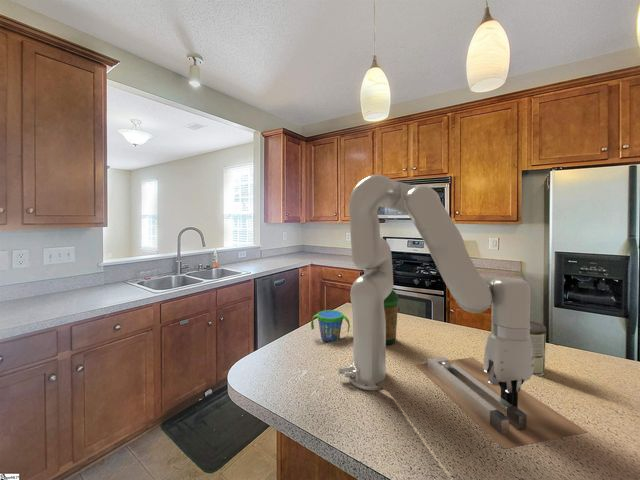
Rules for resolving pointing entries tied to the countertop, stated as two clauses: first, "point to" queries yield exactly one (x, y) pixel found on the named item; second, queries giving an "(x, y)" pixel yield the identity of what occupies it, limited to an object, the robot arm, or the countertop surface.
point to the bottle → (391, 317)
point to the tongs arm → (489, 396)
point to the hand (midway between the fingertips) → (508, 405)
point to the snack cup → (330, 324)
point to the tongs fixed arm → (469, 396)
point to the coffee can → (538, 347)
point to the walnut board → (538, 415)
